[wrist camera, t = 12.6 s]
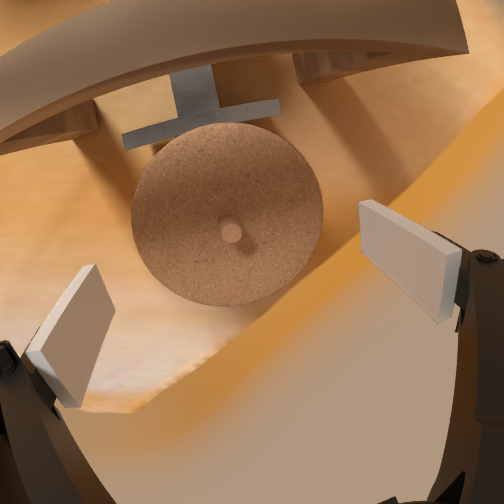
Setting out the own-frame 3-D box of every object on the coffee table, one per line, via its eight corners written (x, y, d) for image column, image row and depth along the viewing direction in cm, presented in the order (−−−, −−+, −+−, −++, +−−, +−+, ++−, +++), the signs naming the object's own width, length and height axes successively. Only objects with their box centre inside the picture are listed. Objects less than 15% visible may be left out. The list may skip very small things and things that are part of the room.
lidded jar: (313, 166, 24) (371, 192, 15) (247, 275, 27) (268, 346, 18) (192, 99, 20) (185, 81, 12) (131, 222, 23) (96, 278, 15)
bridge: (65, 110, 19) (-74, 117, 5) (322, 52, 20) (454, -3, 6) (72, 139, 20) (-65, 176, 6) (328, 81, 21) (469, 53, 7)
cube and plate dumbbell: (117, 0, 15) (84, -43, 8) (233, -25, 16) (247, -79, 9) (143, 144, 21) (113, 155, 13) (263, 116, 21) (294, 113, 14)
